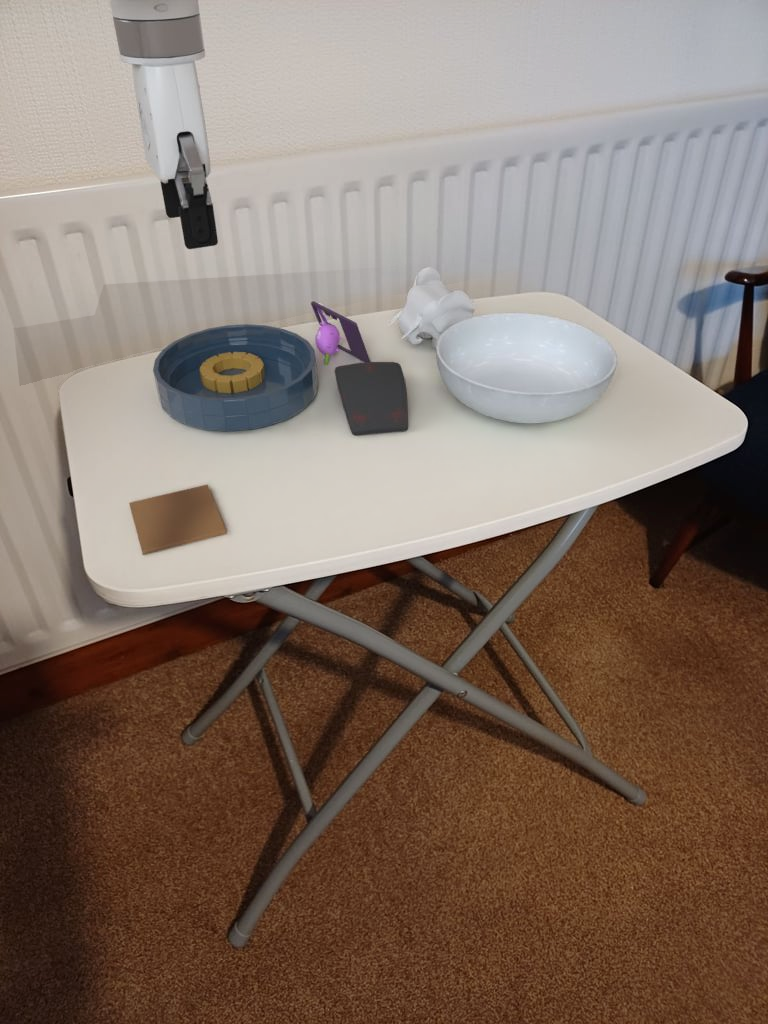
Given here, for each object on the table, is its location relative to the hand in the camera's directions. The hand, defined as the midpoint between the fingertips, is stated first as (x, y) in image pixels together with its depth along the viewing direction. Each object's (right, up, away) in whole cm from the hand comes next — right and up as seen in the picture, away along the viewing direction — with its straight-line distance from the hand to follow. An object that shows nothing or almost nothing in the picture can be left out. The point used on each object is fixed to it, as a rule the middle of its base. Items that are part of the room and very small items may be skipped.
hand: (191, 230), depth 81 cm
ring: (+1, -12, +18) cm, 22 cm away
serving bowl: (+36, -16, +15) cm, 42 cm away
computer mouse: (+18, -16, +14) cm, 28 cm away
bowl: (+2, -14, +16) cm, 22 cm away
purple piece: (+13, -9, +23) cm, 28 cm away
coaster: (-1, -30, -4) cm, 30 cm away
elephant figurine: (+27, -6, +27) cm, 38 cm away
